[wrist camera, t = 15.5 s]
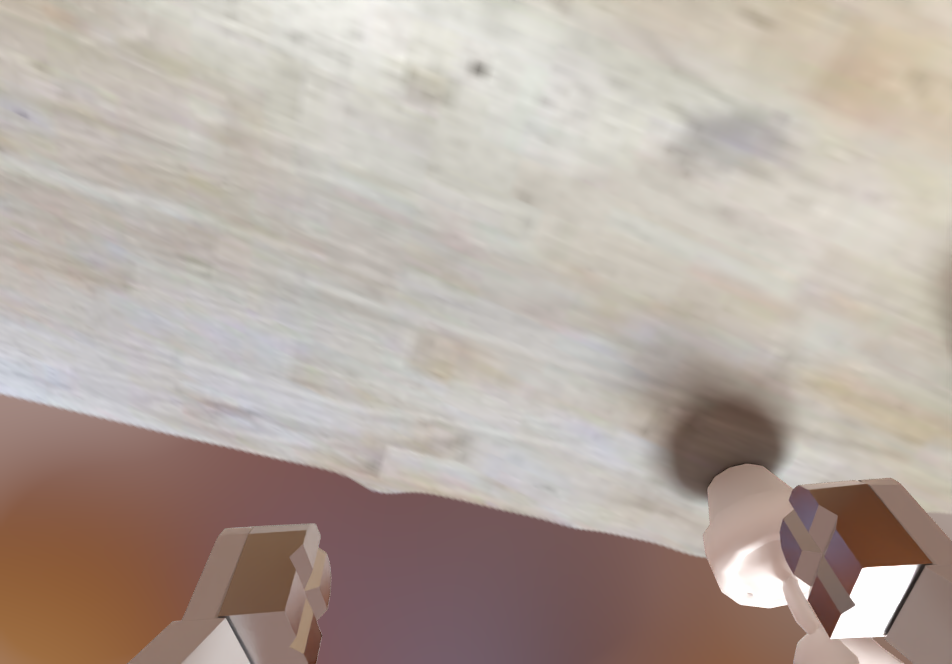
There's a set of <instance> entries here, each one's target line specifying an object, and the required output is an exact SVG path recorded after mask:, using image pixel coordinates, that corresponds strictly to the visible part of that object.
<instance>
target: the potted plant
mask: <svg viewBox="0 0 952 664" xmlns="http://www.w3.org/2000/svg"><path fill="white" fill-rule="evenodd" d="M792 490H793V489H792V488H791V487H790V486H789V485H787V484H786V483H785V482H783V481H782V480H781V479H779V478H778V477H777V476H775V475H774V474H773V473H771V472H770V471H769V470H768V469H766V468H765V467H764V466H760V465H753V464H743V465H739V466H734V467H730V468H728V469H726V470H725V471H723V472H722V473H720V474H719V475H717V476H715V477H714V479H713V480H712V482H711V484H710V485H709V487H708V488H707V493H708V507H709V521H710V525H709V526H708V528H707V529H706V531H705V532H704V534H703V541H704V548H705V555H706V557H707V559H708V562H709V564H710V566H711V569H712V571H713V573H714V575H715V578H716V580H717V582H718V585H719V587H720V589H721V592H723V593H724V594H725V595H727V596H728V597H730V598H731V599H733V600H734V601H735V602H737V603H738V604H740V605H747V606H756V607H764V608H773V607H777V606H783V605H788V606H789V608H790V610H791V613H792V615H793V617H794V619H795V621H796V622H797V623H798V624H799V625H800V626H801V627H802V628H803V630H804V631H805V632H806V633H807V634H806V635H805V636H804V637H803V638H802V639H801V640H800V641H798V643H797V647H796V652H795V657H794V661H793V663H794V664H904V663H903V662H901V661H900V660H899V659H897V658H896V657H895V656H893V655H892V654H890V653H889V652H888V651H886V650H885V649H884V648H883V647H881V646H880V645H879V644H878V643H877V642H876V641H875V640H874V639H872V638H871V637H861V638H839V639H830V638H829V636H828V634H827V632H826V631H825V629H824V627H823V626H822V624H821V623H820V622H819V620H818V618H817V617H816V616H815V613H814V612H813V610H812V609H811V607H810V605H809V603H808V601H807V599H808V595H809V589H810V586H809V585H807V584H806V583H804V582H803V581H802V580H800V579H799V578H797V577H796V576H795V575H793V573H792V571H791V569H790V567H789V566H788V564H787V562H786V560H785V557H784V554H783V551H782V548H781V541H780V528H781V524H782V520H783V518H784V517H785V516H786V515H788V514H789V513H790V512H791V511H793V510H794V508H793V507H792V505H791V504H790V502H789V498H790V495H791V492H792Z"/></svg>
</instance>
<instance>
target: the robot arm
mask: <svg viewBox="0 0 952 664" xmlns="http://www.w3.org/2000/svg"><path fill="white" fill-rule="evenodd" d="M789 502H790V504H791V505H792V507H793V508H794V510H793V511H791V512H790V513H789V514H788V515H786V516H785V517H784V518H783V520H782V524H781V528H780V541H781V548H782V551H783V554H784V557H785V560H786V562H787V564H788V566H789V567H790V569H791V571H792V573H793V575H795V576H796V577H797V578H799V579H800V580H802V581H803V582H804V583H806V584H807V585H809V586H810V589H809V595H808V601H809V603H810V604H811V606H812V608H813V610H814V612H815V613H816V615H817V617H818V618H819V620H820V622H821V624H822V626H823V627H824V629H825V631H826V632H827V634H828V636H829V638H830V639H839V638H861V637H881V636H882V637H883V636H886V637H885V640H886V641H887V642H888V643H890V644H891V645H892V646H893V647H894V648H896V649H897V650H898V651H899V652H900V653H901V654H903V655H904V656H905V657H906V658H908V659H909V660H910V661H911V662H912V663H914V664H952V541H951V540H950V539H949V537H948V536H947V535H946V534H945V533H944V532H943V531H942V530H941V528H940V527H939V526H938V525H937V524H936V523H935V522H934V521H933V519H932V518H931V517H930V516H929V515H928V514H927V513H926V512H925V510H924V509H923V508H922V507H921V506H920V505H919V504H918V503H917V501H916V500H915V499H914V498H913V497H912V496H911V495H910V494H909V492H908V491H907V490H906V489H905V488H904V487H903V486H902V485H901V484H900V483H899V482H897V481H896V480H894V479H892V478H882V479H869V480H859V481H856V480H849V481H838V482H827V483H816V484H805V485H798V486H796V487H795V488H794V489H793V490H792V492H791V495H790V498H789ZM320 538H321V536H320V533H319V531H318V528H317V526H316V524H293V525H273V526H254V527H239V528H226V529H224V531H223V532H222V533H221V534H220V535H219V536H218V538H217V540H216V542H215V545H214V547H213V549H212V551H211V554H210V556H209V558H208V561H207V563H206V565H205V568H204V570H203V572H202V575H201V577H200V579H199V582H198V584H197V586H196V589H195V591H194V593H193V596H192V598H191V600H190V602H189V605H188V607H187V609H186V612H185V614H184V617H183V619H182V621H173V622H172V623H170V625H168V626H167V627H166V628H165V629H164V630H163V631H162V632H161V633H160V634H159V635H158V636H157V637H155V638H154V639H153V640H152V641H151V642H150V643H149V644H148V645H147V646H146V647H145V648H144V649H143V650H141V651H140V652H139V653H138V654H137V655H136V656H135V657H134V658H133V659H132V660H131V661H130V662H129V663H127V664H316V662H317V657H318V652H319V648H320V643H321V638H322V634H321V631H320V629H319V626H318V624H317V621H318V620H319V618H320V617H321V616H322V615H323V614H324V613H325V611H326V610H327V609H328V604H329V598H330V592H331V569H330V562H329V559H328V556H327V553H326V552H324V551H323V550H321V549H320V548H318V546H319V542H320Z"/></svg>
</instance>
